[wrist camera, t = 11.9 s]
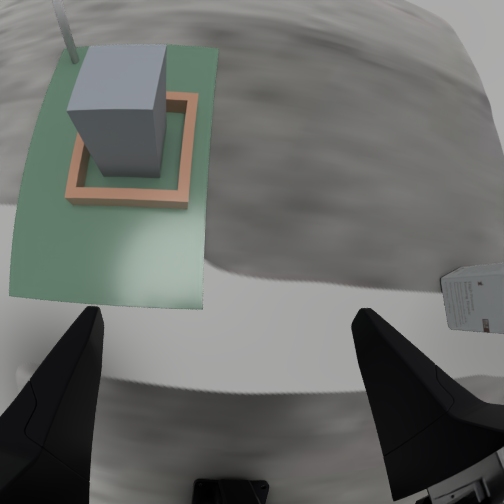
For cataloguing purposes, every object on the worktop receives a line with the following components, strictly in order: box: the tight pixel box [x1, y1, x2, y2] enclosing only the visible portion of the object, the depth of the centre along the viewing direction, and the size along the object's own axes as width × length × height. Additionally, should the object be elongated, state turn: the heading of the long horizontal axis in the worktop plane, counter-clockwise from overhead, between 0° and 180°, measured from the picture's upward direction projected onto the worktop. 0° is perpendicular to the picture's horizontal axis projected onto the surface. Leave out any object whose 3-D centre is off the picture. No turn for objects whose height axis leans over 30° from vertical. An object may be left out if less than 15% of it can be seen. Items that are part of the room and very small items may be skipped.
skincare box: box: [441, 262, 504, 334], centre depth 23 cm, size 6×4×12 cm
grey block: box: [67, 44, 167, 178], centre depth 18 cm, size 5×5×10 cm
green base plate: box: [9, 0, 219, 309], centre depth 17 cm, size 25×16×11 cm, turn 179°
